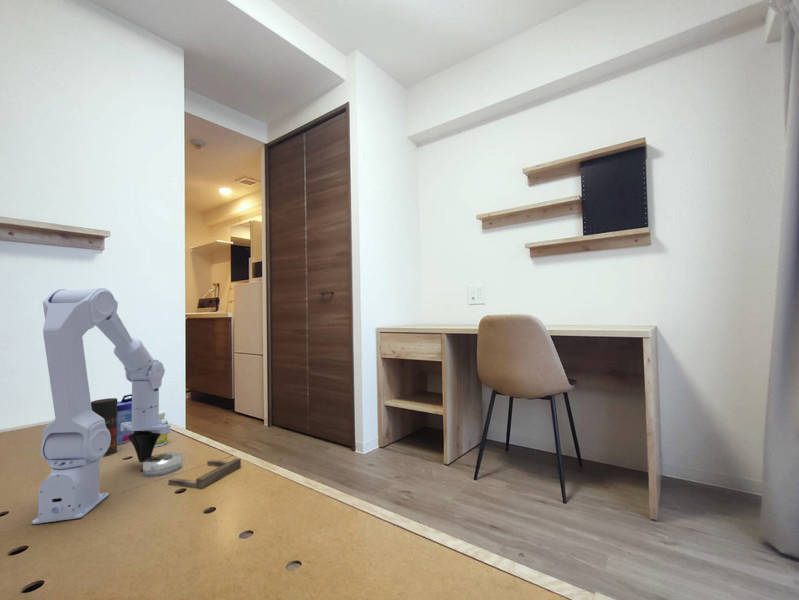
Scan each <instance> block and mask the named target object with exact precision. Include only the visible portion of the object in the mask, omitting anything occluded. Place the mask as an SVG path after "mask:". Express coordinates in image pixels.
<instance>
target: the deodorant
mask: <svg viewBox="0 0 799 600" xmlns="http://www.w3.org/2000/svg"><path fill="white" fill-rule="evenodd" d="M117 402H118V398H116V397H114V398H113V397H112V398H102V399H96V400H93V401H91V407H92V411H94V412H95V413H96V414H98V415H99V416H101V417H102V418H104V419H105V425H106V428H107V429H108V430H109V432H110V435H111V443H110V446H109V448H108V450H107V451H106V453H105V454H104V455H103V458H104V457H108V456H111V455H114V454H116V453H117V452H118V451H117V450H118V449H117V447H118V445H117Z"/></svg>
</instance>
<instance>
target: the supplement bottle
mask: <svg viewBox="0 0 799 600" xmlns="http://www.w3.org/2000/svg"><path fill="white" fill-rule="evenodd" d="M159 420H162V423H164V424H168V422H169V421H168V419H167V418H166V411H165V410H159ZM168 425H169V424H168ZM167 443H168V433H167V434H164V435H160V436H159V438H158V439H157V441H156V444H155V446H154V448H158V446H159V447H162V446H165V445H166V444H167ZM164 444H165V445H164Z"/></svg>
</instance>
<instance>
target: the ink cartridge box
mask: <svg viewBox="0 0 799 600" xmlns="http://www.w3.org/2000/svg"><path fill="white" fill-rule="evenodd" d="M131 421H132V393H130V394H125V395H123V396H122V399H121V401H117V446H119V445H122V444H125V443H128V442H131V441H130V440H129V439H128V436H129V435H132V434H133V433H134V431H121V423H125V422H131Z"/></svg>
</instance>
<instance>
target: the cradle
mask: <svg viewBox="0 0 799 600" xmlns="http://www.w3.org/2000/svg"><path fill="white" fill-rule="evenodd" d="M241 460H242V459H241V458H238V457H237V458H234V459H232V460H230V461H226V460H216V459H209V460H207V462H206V465H207V466H210V465H213V466H212V467H217V468H214V469H213V470H211V471H208V472H207V473H204V474H203V475H201V476H199V477H197V478H196V479H195V480H191V479H190V480H189V479H184V478H183V479H182V478H177V477H176V478H175V477H171V478H170V479H168V483H167V484H168V485H170V484H171V486H177V485H178V487H184V486H185V488H186V487H187V488H191V489H199V490H202V489H204V488H206V487H208V486H209V485H212V484H213V483H215V482H217V481H218V480H221V479H222V478H224V477H225V476H227V475H229V474H231V473H233V472H235V471H236V470H238V469H240V468H241V467H242V466H241V464H242V461H241ZM219 466H220V467H219Z"/></svg>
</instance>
